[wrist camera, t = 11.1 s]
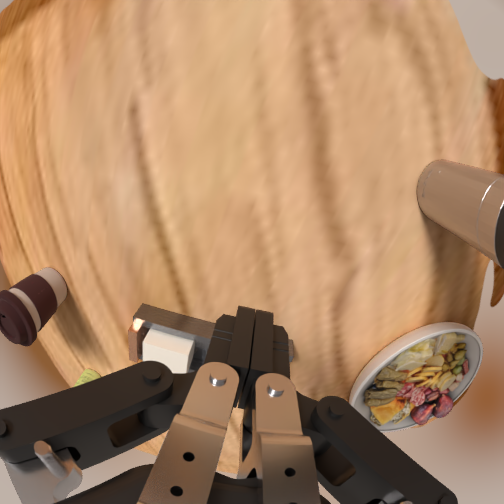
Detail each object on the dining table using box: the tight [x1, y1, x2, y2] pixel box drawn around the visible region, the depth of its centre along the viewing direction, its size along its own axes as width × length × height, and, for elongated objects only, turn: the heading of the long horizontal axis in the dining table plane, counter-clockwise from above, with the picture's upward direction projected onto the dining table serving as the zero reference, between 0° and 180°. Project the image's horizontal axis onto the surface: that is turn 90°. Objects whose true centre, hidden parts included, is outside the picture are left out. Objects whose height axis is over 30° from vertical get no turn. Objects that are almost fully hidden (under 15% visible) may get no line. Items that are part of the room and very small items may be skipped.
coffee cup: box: [0, 267, 67, 346], centre depth 37 cm, size 10×10×15 cm
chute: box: [128, 303, 294, 373], centre depth 43 cm, size 25×9×6 cm, turn 77°
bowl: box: [349, 322, 483, 432], centre depth 44 cm, size 30×30×8 cm
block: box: [143, 328, 195, 373], centre depth 42 cm, size 7×6×6 cm
